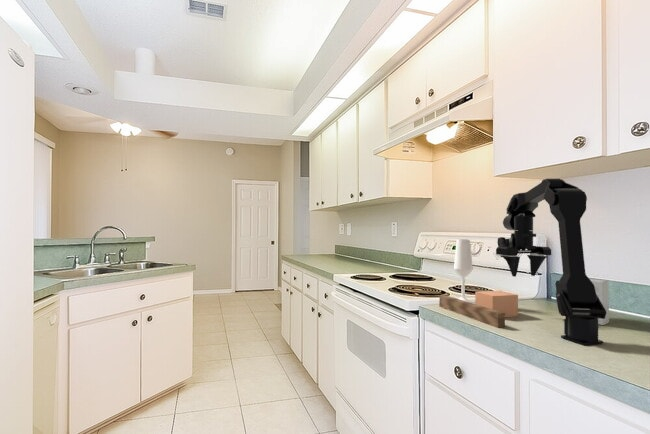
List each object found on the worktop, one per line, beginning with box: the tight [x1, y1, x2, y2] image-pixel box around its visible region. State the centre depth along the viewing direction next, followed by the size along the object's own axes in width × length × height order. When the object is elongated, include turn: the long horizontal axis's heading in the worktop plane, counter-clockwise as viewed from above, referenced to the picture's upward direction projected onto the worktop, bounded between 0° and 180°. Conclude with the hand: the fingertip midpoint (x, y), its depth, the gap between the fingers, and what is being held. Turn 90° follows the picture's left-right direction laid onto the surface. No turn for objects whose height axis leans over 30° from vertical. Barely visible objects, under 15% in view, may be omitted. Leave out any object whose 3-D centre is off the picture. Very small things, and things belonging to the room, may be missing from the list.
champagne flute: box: [453, 238, 474, 303], centre depth 136 cm, size 7×7×24 cm
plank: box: [438, 294, 506, 329], centre depth 116 cm, size 28×2×4 cm, turn 17°
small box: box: [588, 277, 610, 326], centre depth 111 cm, size 8×6×13 cm
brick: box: [474, 290, 519, 318], centre depth 119 cm, size 8×10×7 cm
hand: (523, 276), depth 122 cm, fingers open, 8 cm apart
